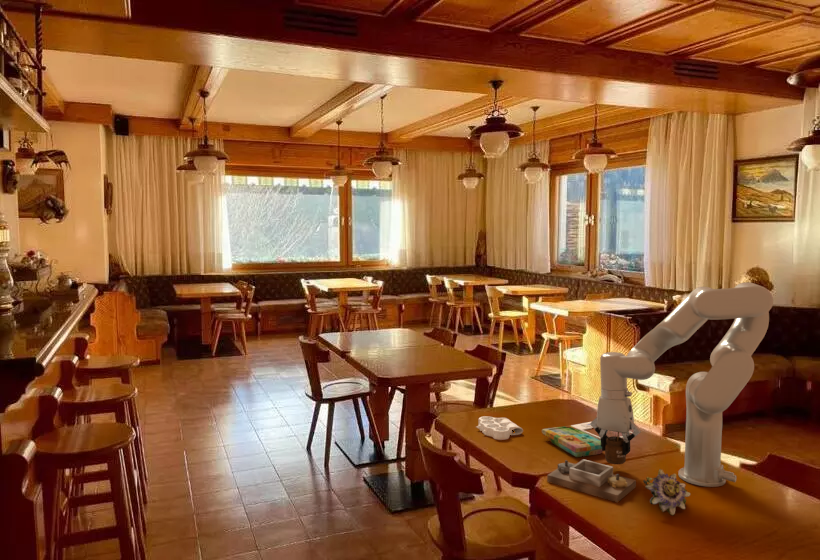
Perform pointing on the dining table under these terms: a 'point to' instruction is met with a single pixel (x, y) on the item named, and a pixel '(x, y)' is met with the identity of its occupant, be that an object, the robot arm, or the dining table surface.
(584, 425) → the photo frame
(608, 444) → the utensil holder
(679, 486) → the passion flower
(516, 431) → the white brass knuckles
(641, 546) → the dining table surface
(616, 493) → the gear board
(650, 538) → the dining table surface
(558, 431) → the puzzle game
